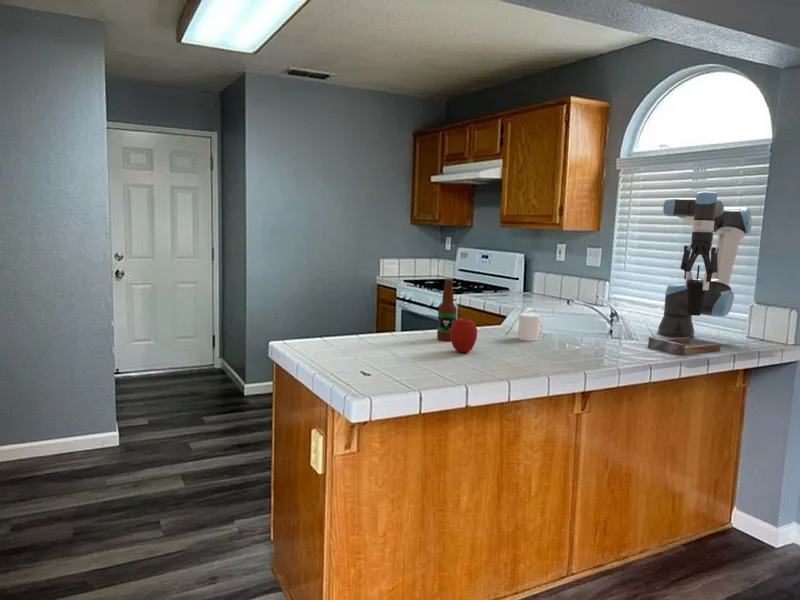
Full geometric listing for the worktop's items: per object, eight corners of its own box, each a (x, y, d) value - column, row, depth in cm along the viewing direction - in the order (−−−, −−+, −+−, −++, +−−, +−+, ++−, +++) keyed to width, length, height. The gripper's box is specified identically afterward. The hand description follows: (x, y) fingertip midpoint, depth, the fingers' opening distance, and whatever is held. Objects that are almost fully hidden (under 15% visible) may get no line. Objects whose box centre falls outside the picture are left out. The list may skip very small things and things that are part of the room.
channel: (647, 346, 242) (648, 337, 241) (686, 342, 253) (687, 333, 253) (680, 355, 229) (681, 345, 228) (719, 350, 240) (720, 340, 239)
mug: (515, 313, 250) (536, 312, 256) (513, 337, 251) (534, 335, 257) (529, 316, 243) (550, 315, 249) (527, 341, 244) (548, 339, 250)
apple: (443, 350, 223) (445, 313, 221) (465, 348, 228) (467, 312, 226) (459, 356, 215) (461, 318, 212) (481, 354, 220) (484, 316, 218)
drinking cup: (692, 316, 236) (698, 265, 233) (678, 313, 243) (684, 264, 240) (708, 316, 238) (714, 266, 235) (694, 313, 245) (699, 264, 243)
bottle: (435, 340, 240) (437, 278, 237) (439, 337, 247) (442, 277, 244) (452, 342, 238) (455, 280, 234) (456, 338, 245) (459, 278, 241)
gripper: (674, 230, 243) (668, 286, 246) (720, 232, 225) (714, 292, 229) (686, 230, 246) (680, 285, 250) (732, 232, 229) (726, 291, 232)
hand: (696, 288), depth 239 cm, fingers closed on drinking cup, 7 cm apart
